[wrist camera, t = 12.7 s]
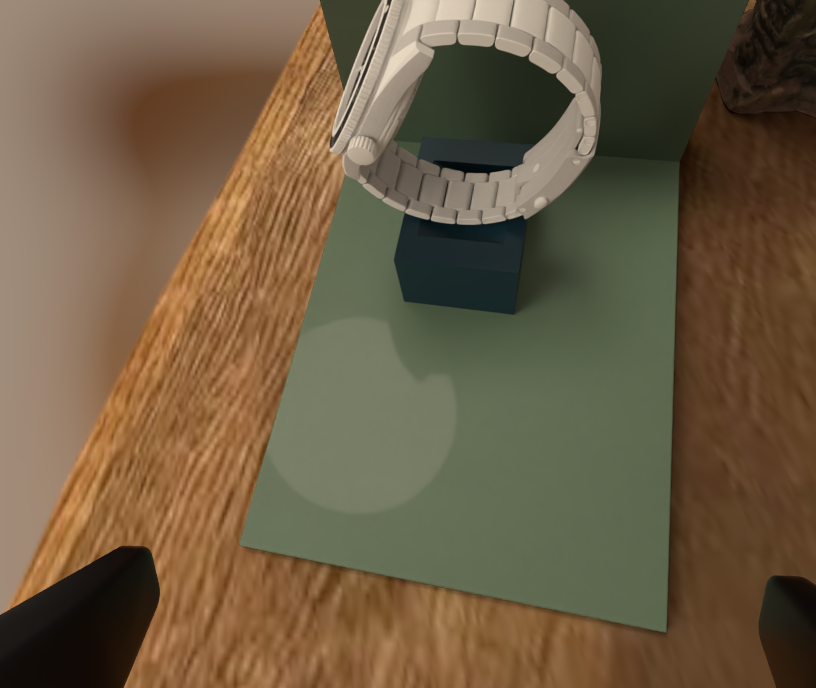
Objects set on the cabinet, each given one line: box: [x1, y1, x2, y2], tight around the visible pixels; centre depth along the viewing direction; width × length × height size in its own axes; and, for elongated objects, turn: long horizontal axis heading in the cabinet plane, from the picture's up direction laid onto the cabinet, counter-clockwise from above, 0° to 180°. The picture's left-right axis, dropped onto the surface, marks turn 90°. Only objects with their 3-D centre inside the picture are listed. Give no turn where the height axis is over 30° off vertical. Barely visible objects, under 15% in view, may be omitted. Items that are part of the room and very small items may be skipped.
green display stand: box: [239, 0, 749, 632], centre depth 20 cm, size 20×14×8 cm
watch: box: [330, 0, 602, 315], centre depth 20 cm, size 6×8×11 cm
